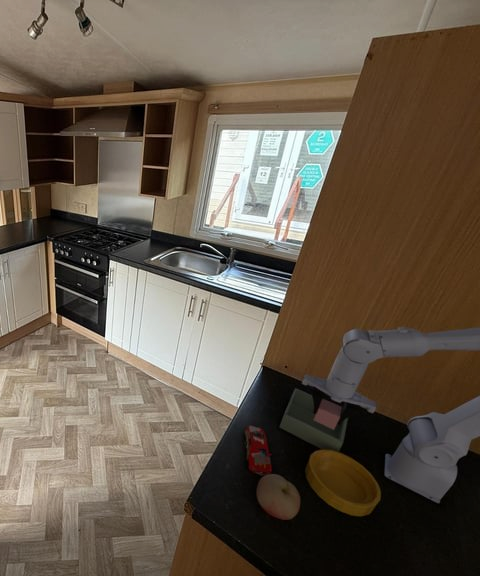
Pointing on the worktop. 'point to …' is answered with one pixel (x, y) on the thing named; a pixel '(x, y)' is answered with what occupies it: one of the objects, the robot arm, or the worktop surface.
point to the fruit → (278, 497)
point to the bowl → (342, 482)
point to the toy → (328, 414)
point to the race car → (257, 451)
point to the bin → (311, 423)
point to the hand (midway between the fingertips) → (326, 416)
